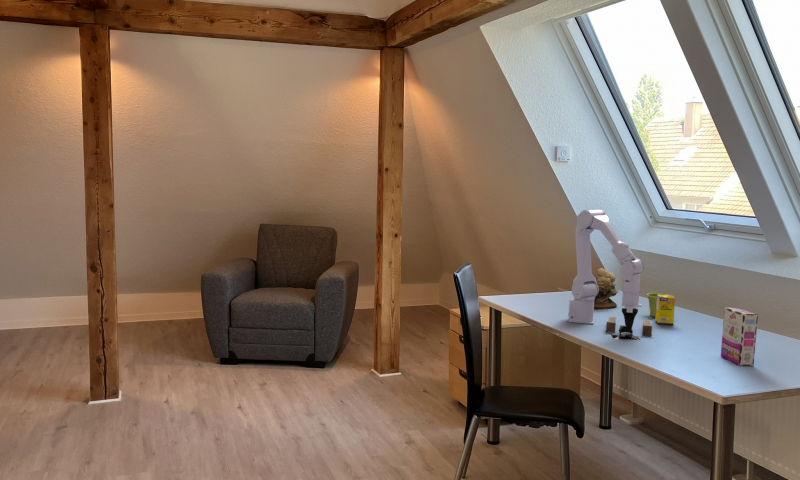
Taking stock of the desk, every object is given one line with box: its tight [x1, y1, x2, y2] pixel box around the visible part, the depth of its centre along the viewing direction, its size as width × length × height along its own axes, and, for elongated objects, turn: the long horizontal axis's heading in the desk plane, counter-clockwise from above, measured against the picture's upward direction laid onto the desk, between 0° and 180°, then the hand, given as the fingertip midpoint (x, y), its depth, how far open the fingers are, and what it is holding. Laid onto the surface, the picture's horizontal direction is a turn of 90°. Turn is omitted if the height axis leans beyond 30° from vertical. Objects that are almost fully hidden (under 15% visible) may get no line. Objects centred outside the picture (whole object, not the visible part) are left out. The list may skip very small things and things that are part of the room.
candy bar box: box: [720, 307, 759, 367], centre depth 217 cm, size 11×5×16 cm, turn 5°
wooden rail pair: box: [605, 316, 653, 337], centre depth 258 cm, size 16×14×4 cm
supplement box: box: [654, 294, 676, 326], centre depth 269 cm, size 6×6×11 cm
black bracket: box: [610, 325, 641, 341], centre depth 246 cm, size 12×7×5 cm, turn 80°
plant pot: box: [646, 292, 669, 318], centre depth 283 cm, size 9×9×9 cm
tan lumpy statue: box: [593, 267, 619, 310], centre depth 300 cm, size 18×12×17 cm, turn 107°
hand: (628, 328), depth 254 cm, fingers closed
